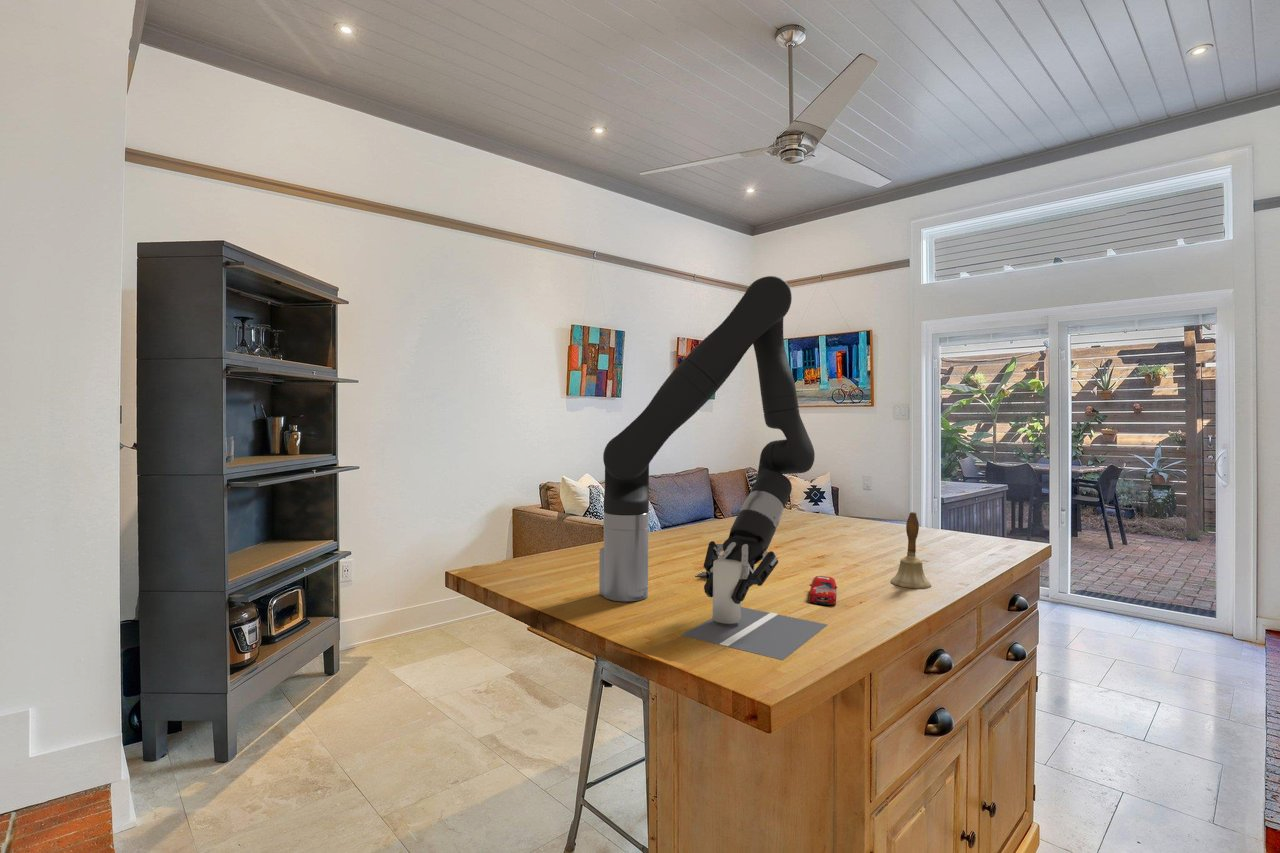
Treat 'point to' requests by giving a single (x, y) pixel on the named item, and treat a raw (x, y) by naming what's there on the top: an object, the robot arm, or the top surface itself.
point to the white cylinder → (726, 590)
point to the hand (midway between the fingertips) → (721, 597)
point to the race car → (823, 590)
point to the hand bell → (911, 560)
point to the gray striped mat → (759, 633)
